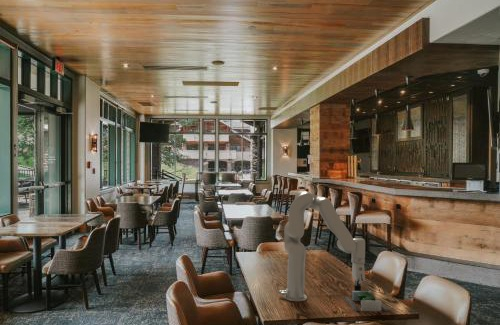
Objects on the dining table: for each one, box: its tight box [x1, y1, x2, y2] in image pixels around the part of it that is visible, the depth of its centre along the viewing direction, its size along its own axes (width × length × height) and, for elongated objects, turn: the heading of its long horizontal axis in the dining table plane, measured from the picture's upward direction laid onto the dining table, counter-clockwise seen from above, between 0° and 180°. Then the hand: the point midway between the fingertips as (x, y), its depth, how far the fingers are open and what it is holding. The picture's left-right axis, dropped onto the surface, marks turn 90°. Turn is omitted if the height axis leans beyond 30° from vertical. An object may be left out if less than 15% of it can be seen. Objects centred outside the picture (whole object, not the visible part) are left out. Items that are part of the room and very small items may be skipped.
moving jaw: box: [351, 290, 372, 302], centre depth 227 cm, size 10×2×5 cm, turn 93°
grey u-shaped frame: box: [344, 296, 389, 312], centre depth 221 cm, size 17×20×5 cm
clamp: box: [358, 292, 376, 303], centre depth 220 cm, size 12×6×9 cm, turn 177°
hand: (357, 292), depth 234 cm, fingers closed
